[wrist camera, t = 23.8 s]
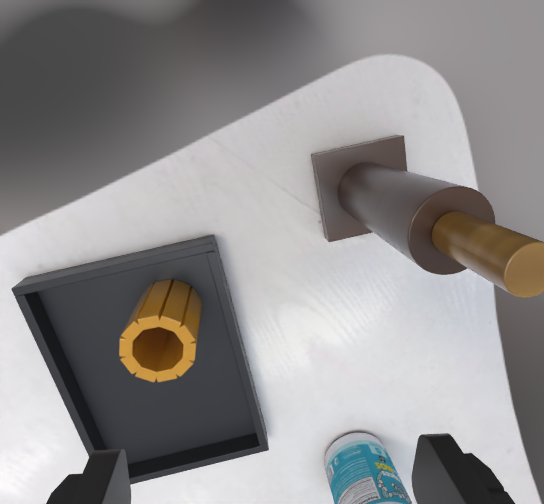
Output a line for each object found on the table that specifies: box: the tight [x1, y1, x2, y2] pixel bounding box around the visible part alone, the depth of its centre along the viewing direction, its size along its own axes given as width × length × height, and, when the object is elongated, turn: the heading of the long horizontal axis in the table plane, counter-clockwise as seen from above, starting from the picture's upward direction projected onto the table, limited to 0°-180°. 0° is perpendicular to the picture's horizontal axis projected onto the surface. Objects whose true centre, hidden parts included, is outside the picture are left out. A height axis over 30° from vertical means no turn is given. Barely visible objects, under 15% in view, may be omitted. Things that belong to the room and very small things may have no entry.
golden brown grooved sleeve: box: [119, 279, 202, 382], centre depth 34 cm, size 6×6×8 cm
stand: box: [311, 135, 544, 298], centre depth 26 cm, size 8×8×22 cm
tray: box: [12, 235, 269, 484], centre depth 39 cm, size 24×18×3 cm
